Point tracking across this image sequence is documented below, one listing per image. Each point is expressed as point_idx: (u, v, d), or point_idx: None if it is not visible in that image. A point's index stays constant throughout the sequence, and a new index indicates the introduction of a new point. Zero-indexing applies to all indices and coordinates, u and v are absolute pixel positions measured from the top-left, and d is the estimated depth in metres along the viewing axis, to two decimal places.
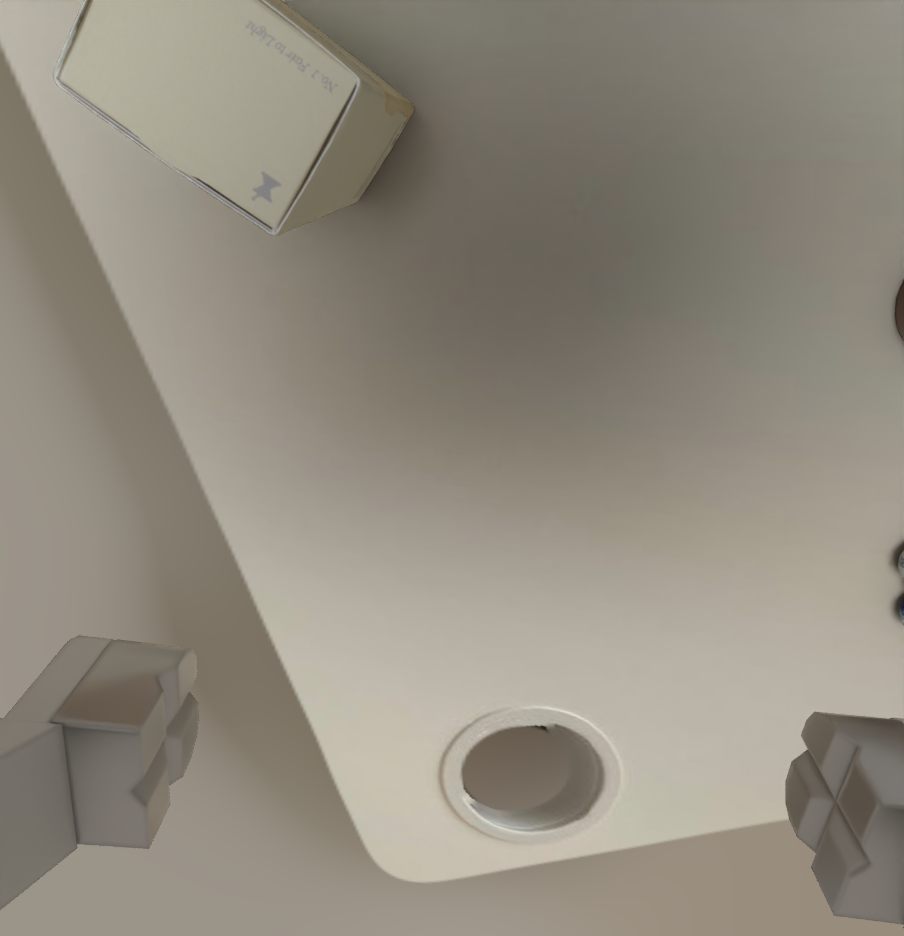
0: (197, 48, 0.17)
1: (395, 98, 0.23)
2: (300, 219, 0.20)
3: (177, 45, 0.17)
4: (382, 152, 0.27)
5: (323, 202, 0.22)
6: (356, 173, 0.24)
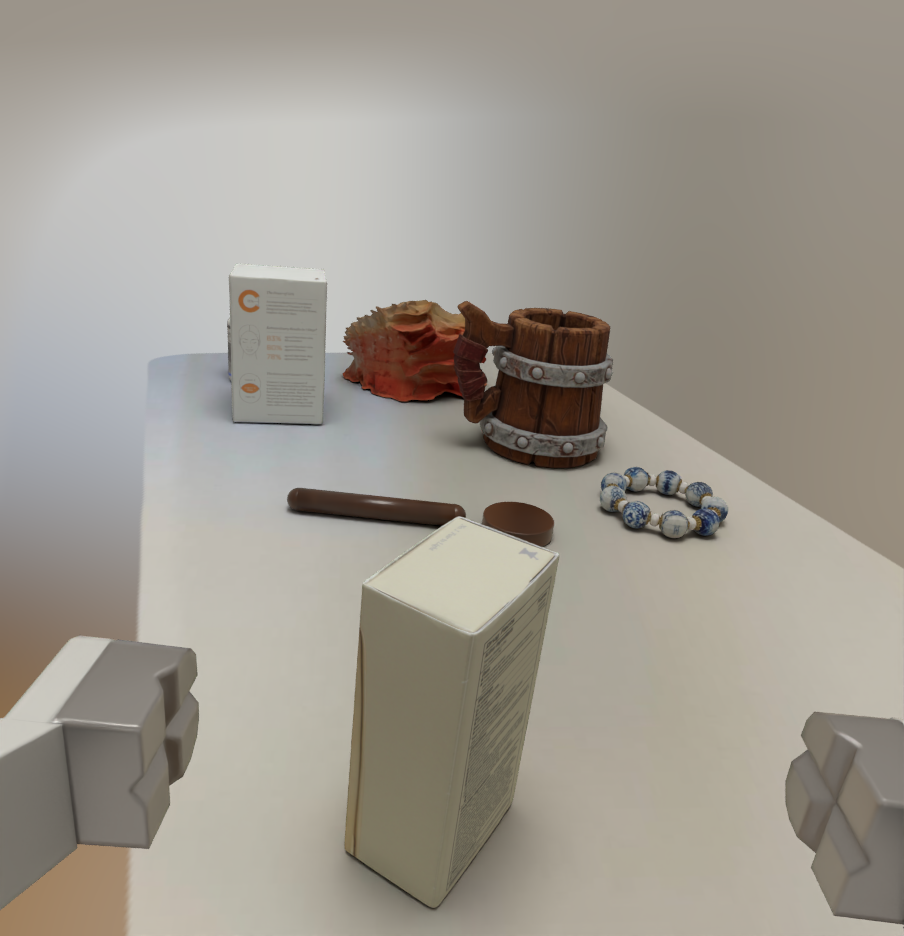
0: (446, 568, 0.25)
1: None
2: None
3: (445, 575, 0.25)
4: None
5: None
6: None
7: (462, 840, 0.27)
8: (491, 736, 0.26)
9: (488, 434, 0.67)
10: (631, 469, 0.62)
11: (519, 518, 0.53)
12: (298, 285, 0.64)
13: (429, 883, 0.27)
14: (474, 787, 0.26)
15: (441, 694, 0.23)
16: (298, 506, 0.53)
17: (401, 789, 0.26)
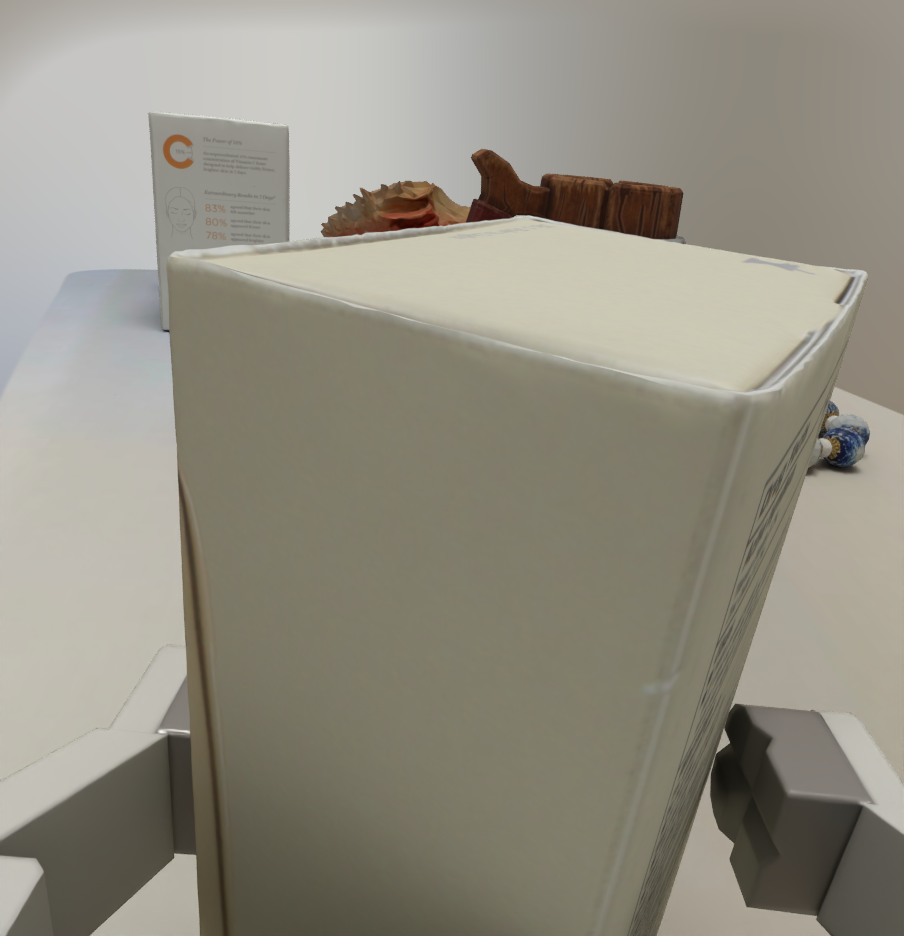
0: (517, 258, 0.07)
1: None
2: None
3: (520, 267, 0.06)
4: None
5: None
6: None
7: None
8: (666, 870, 0.08)
9: None
10: None
11: None
12: (248, 129, 0.46)
13: None
14: None
15: (525, 749, 0.05)
16: None
17: None
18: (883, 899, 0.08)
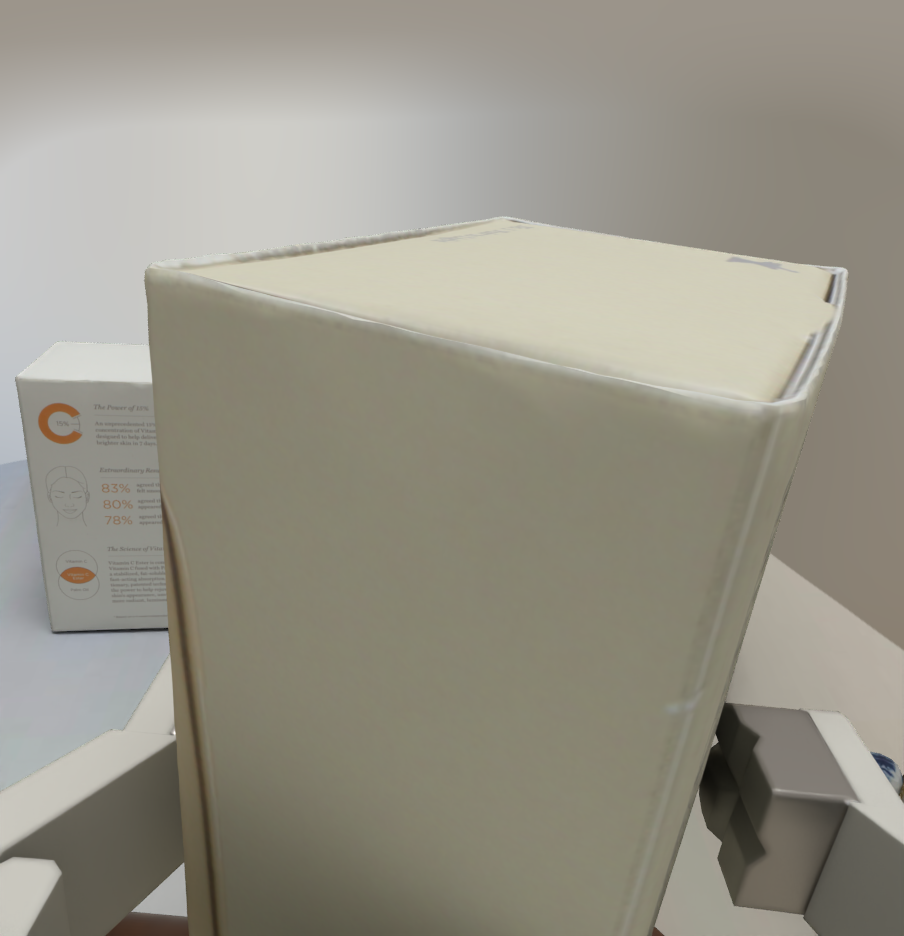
0: (506, 262, 0.06)
1: None
2: None
3: (512, 271, 0.06)
4: None
5: None
6: None
7: None
8: None
9: None
10: None
11: None
12: None
13: None
14: None
15: (541, 771, 0.05)
16: None
17: None
18: (869, 898, 0.08)
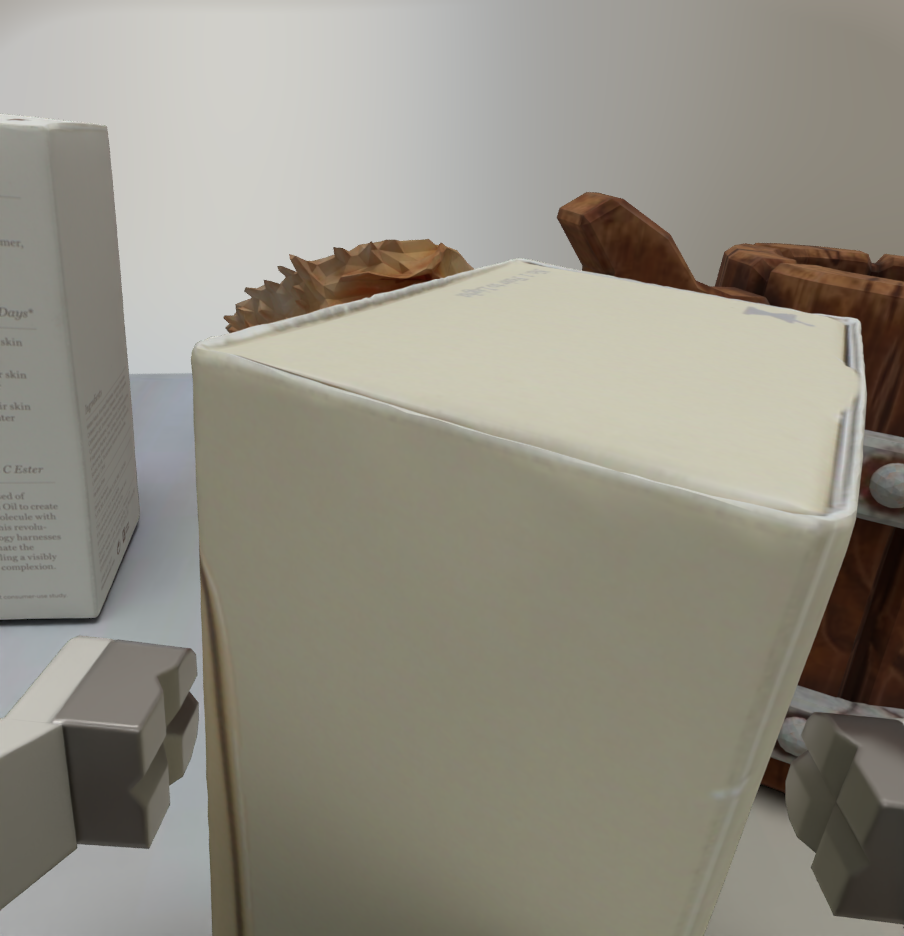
0: (535, 325, 0.07)
1: None
2: None
3: (544, 339, 0.06)
4: None
5: None
6: None
7: None
8: None
9: None
10: None
11: None
12: None
13: None
14: None
15: (584, 846, 0.05)
16: None
17: None
18: None
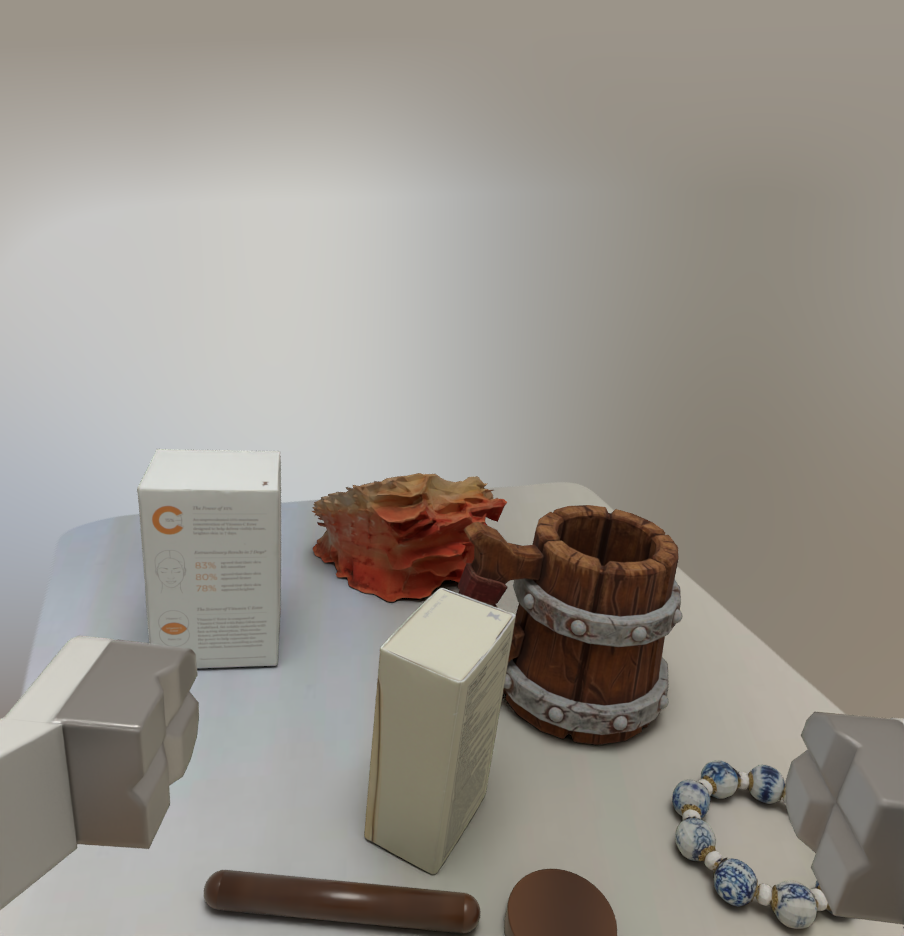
0: (437, 631, 0.35)
1: None
2: None
3: (437, 638, 0.35)
4: None
5: None
6: None
7: (453, 824, 0.37)
8: (472, 748, 0.37)
9: (506, 689, 0.48)
10: (714, 769, 0.43)
11: (563, 920, 0.35)
12: (238, 496, 0.45)
13: (431, 857, 0.37)
14: (460, 785, 0.37)
15: (439, 722, 0.34)
16: (220, 907, 0.34)
17: (409, 790, 0.36)
18: None
